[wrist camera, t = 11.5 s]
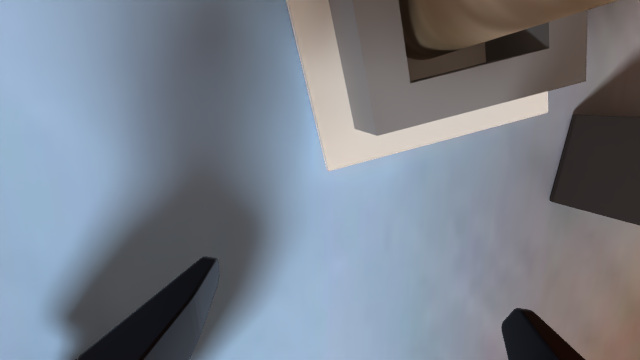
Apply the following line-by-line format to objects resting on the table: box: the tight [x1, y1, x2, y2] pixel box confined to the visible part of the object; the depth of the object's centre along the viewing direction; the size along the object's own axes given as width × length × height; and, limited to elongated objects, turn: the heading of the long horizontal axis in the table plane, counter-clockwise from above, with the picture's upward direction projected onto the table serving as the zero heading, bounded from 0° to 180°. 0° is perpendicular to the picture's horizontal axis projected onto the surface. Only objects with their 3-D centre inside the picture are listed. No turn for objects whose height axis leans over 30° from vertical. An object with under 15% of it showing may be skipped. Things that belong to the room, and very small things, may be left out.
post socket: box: [286, 0, 587, 171], centre depth 14 cm, size 14×14×5 cm
